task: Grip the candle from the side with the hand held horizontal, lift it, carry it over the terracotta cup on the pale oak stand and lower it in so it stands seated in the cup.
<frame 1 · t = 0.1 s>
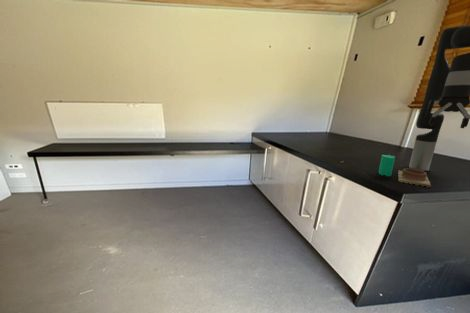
hand: (446, 127, 82), 29 cm above the table, tool pointing down, fingers open, 8 cm apart
candle: (384, 174, 114), on the table
cup stand: (412, 179, 107), on the table
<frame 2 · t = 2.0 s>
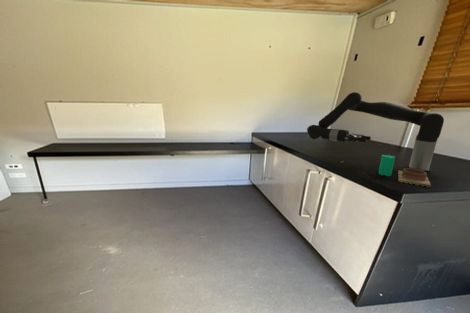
hand: (368, 139, 116), 18 cm above the table, tool horizontal, fingers open, 8 cm apart
nothing on the table moved.
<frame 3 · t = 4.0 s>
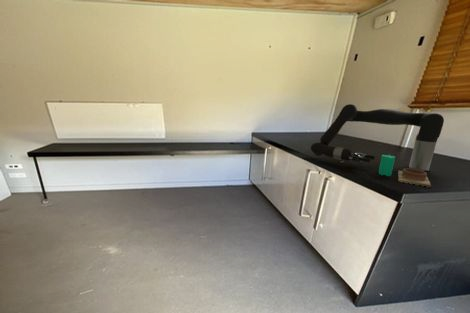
hand: (372, 159, 117), 7 cm above the table, tool horizontal, fingers open, 8 cm apart
nothing on the table moved.
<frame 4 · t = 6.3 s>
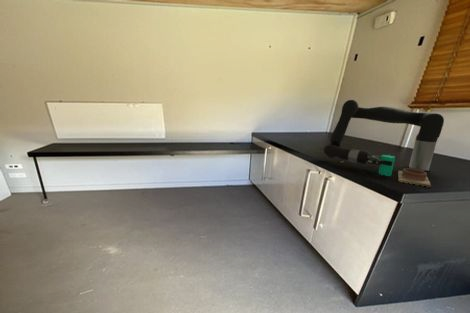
hand: (393, 162, 110), 7 cm above the table, tool horizontal, fingers closed on candle, 5 cm apart
candle: (384, 174, 114), on the table, touching gripper
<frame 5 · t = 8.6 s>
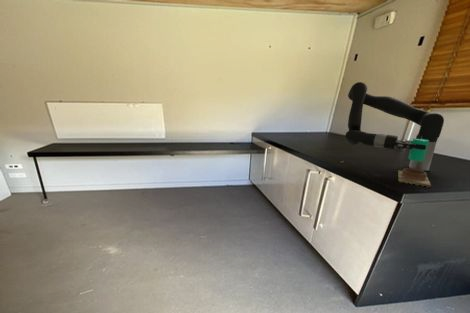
hand: (426, 146, 101), 18 cm above the table, tool horizontal, fingers closed on candle, 5 cm apart
candle: (415, 160, 104), point 10 cm above the table, touching gripper
when the fingers open (9 cm above the table, at t = 11.2 s): candle stays where it is, resting on cup stand.
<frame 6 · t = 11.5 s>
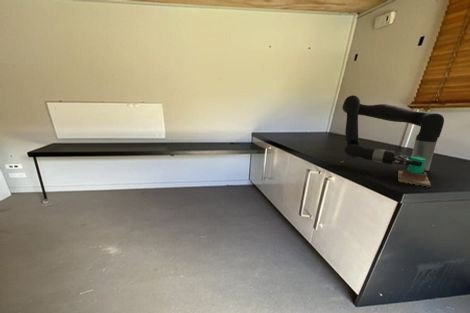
hand: (422, 163, 103), 9 cm above the table, tool horizontal, fingers open, 7 cm apart
candle: (412, 177, 106), point 1 cm above the table, touching cup stand
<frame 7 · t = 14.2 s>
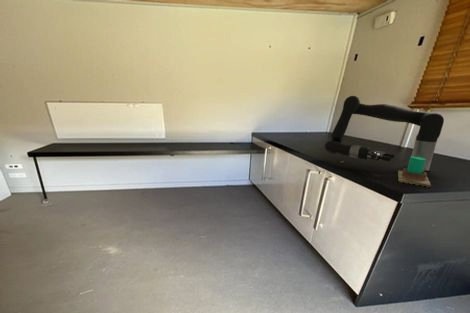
hand: (392, 157, 111), 9 cm above the table, tool horizontal, fingers open, 8 cm apart
nothing on the table moved.
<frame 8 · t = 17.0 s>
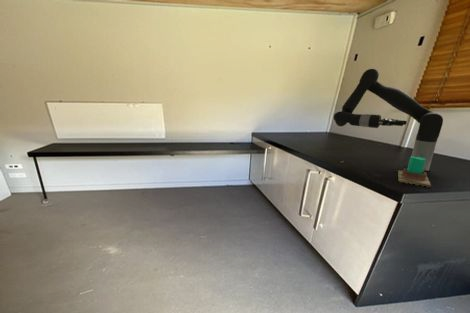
hand: (404, 123, 108), 28 cm above the table, tool horizontal, fingers open, 8 cm apart
nothing on the table moved.
at the end: candle 0.1 cm off-centre on the cup stand, point 1.0 cm above the cup stand's base; candle tilted 0°; the gripper is holding nothing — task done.
